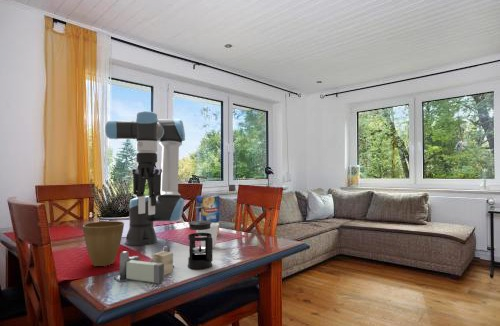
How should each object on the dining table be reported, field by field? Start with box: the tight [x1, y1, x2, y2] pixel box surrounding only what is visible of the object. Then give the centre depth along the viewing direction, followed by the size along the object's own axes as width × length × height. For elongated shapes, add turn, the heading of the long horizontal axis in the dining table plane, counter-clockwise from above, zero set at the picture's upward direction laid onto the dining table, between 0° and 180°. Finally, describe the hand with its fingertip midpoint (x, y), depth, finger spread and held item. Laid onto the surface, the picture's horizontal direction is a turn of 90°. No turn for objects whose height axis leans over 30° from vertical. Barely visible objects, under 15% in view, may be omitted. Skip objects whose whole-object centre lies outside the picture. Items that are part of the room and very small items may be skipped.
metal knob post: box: [113, 250, 140, 283], centre depth 109 cm, size 8×6×9 cm
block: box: [152, 250, 174, 276], centre depth 114 cm, size 5×5×7 cm
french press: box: [187, 207, 213, 271], centre depth 121 cm, size 12×9×23 cm
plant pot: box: [82, 220, 125, 267], centre depth 124 cm, size 15×15×16 cm
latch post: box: [162, 245, 175, 269], centre depth 119 cm, size 4×4×8 cm
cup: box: [201, 223, 220, 249], centre depth 149 cm, size 10×10×11 cm
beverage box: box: [195, 194, 220, 236], centre depth 176 cm, size 7×11×22 cm, turn 133°
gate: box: [126, 260, 165, 284], centre depth 105 cm, size 13×3×6 cm, turn 71°
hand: (146, 213), depth 118 cm, fingers open, 4 cm apart
